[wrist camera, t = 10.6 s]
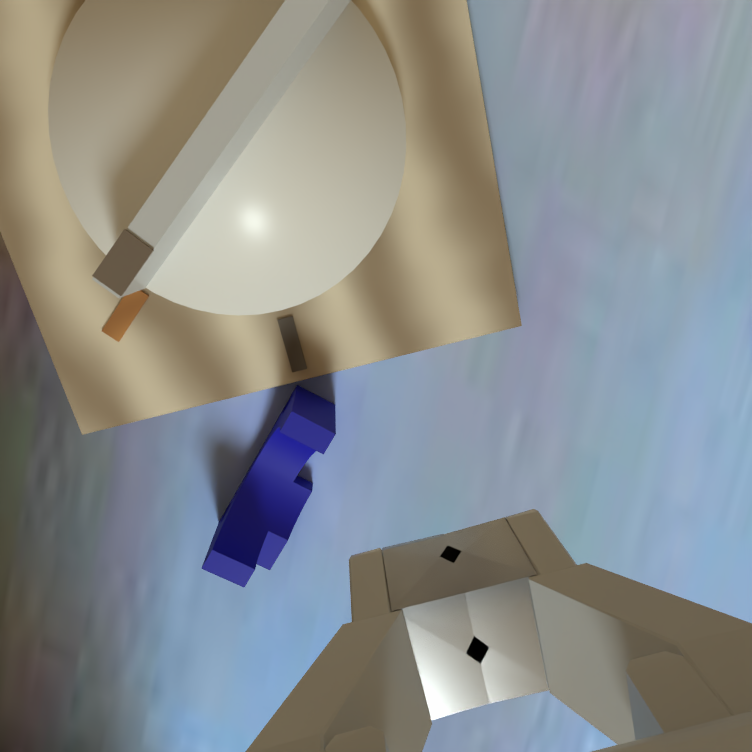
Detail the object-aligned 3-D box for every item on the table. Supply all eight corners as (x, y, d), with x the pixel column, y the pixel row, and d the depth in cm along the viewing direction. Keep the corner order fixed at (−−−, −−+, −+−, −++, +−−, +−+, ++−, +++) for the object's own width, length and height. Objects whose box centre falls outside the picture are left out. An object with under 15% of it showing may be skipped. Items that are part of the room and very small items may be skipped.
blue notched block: (273, 547, 44) (264, 596, 38) (219, 521, 43) (201, 568, 37) (353, 413, 41) (357, 445, 36) (297, 384, 41) (291, 411, 35)
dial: (470, 119, 35) (498, 99, 29) (272, 373, 38) (262, 401, 33) (189, -141, 31) (156, -225, 25) (-8, 169, 34) (-78, 160, 28)
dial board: (424, -201, 32) (429, -223, 31) (514, 321, 40) (522, 326, 39) (-108, -73, 32) (-130, -89, 30) (91, 426, 40) (81, 435, 38)
